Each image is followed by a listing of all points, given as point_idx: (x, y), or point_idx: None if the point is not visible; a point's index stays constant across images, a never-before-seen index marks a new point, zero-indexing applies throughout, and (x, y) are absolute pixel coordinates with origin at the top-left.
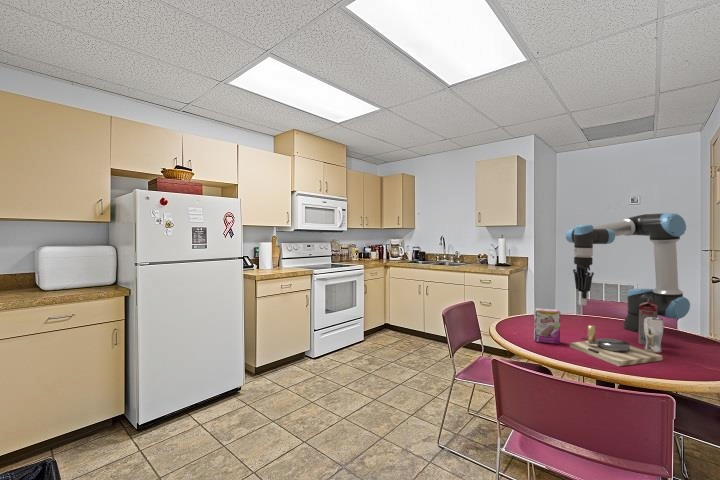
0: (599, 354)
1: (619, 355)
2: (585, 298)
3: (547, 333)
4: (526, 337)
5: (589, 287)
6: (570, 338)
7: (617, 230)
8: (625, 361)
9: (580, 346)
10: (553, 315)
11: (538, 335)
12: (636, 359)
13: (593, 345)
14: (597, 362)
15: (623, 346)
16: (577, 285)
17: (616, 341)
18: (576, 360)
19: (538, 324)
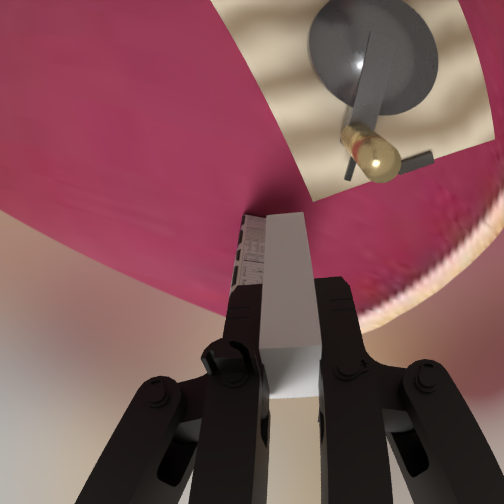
0: (439, 156)
1: (452, 91)
2: (340, 286)
3: None
4: (215, 296)
5: (466, 428)
6: (182, 145)
7: None
8: (488, 110)
9: (358, 180)
10: None
11: None
12: (478, 61)
13: (341, 116)
14: (457, 178)
15: (433, 48)
16: (189, 464)
17: (361, 25)
18: (436, 231)
19: None
